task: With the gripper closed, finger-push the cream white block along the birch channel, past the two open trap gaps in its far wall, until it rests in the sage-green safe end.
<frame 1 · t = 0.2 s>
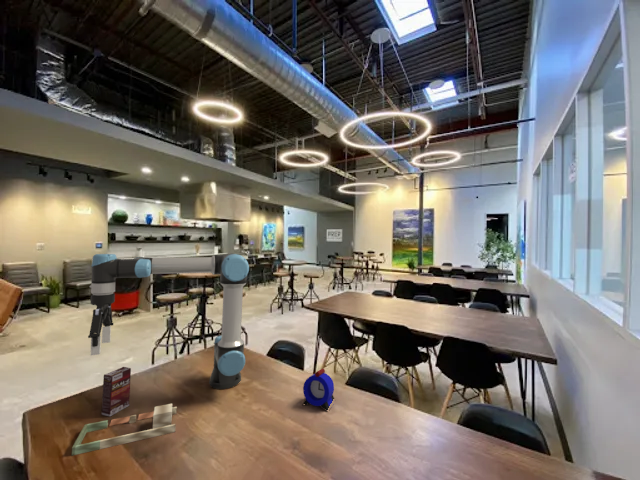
hand: (101, 348, 110), 28 cm above the table, fingers open, 13 cm apart
alarm clock: (319, 402, 126), on the table
cream white block: (162, 425, 108), on the table
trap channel: (131, 431, 104), on the table
supplement box: (116, 410, 117), on the table
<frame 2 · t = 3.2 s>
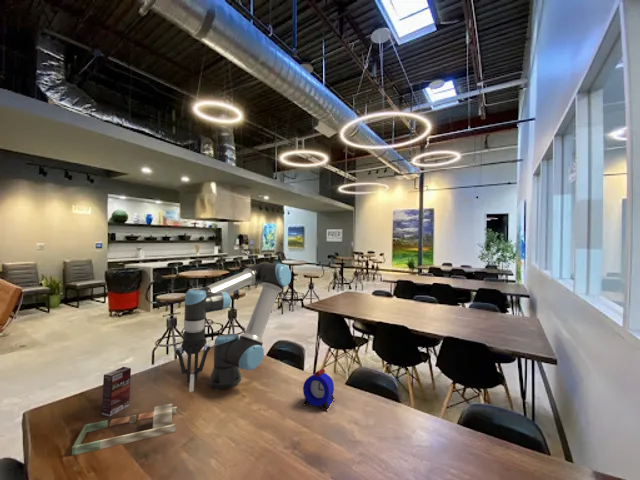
hand: (191, 389, 112), 11 cm above the table, fingers closed
nothing on the table moved.
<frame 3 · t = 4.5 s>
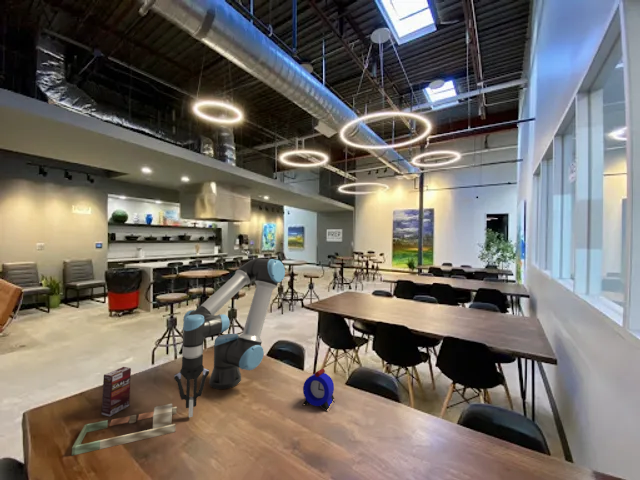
hand: (190, 415, 112), 1 cm above the table, fingers closed
nothing on the table moved.
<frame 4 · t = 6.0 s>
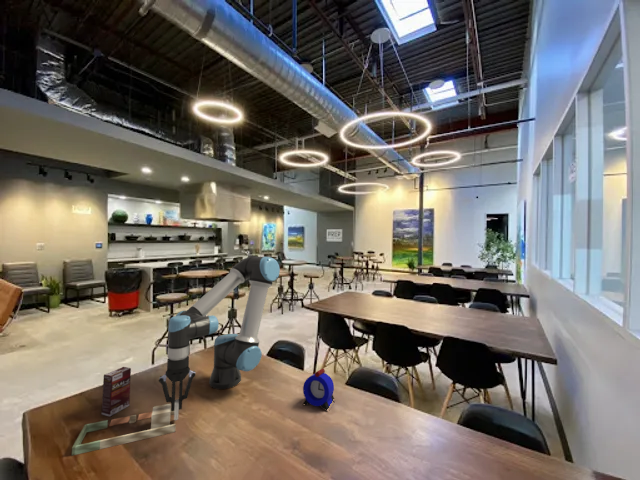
hand: (176, 418, 110), 2 cm above the table, fingers closed
cream white block: (160, 425, 108), on the table, touching gripper
everything else where it was.
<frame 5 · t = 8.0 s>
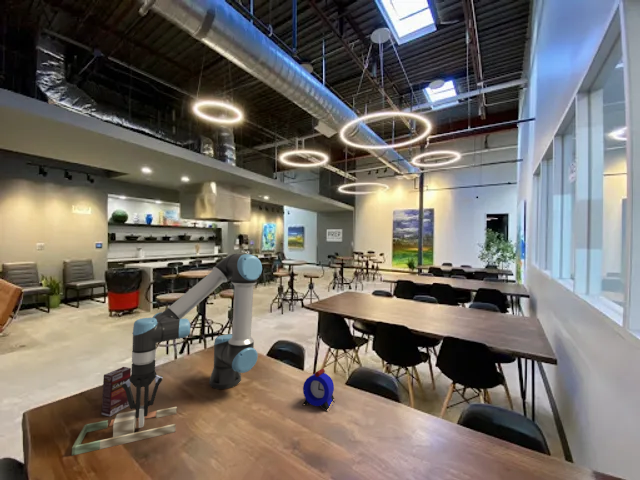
hand: (141, 425, 105), 2 cm above the table, fingers closed
cream white block: (124, 433, 103), on the table, touching gripper
everything else where it was.
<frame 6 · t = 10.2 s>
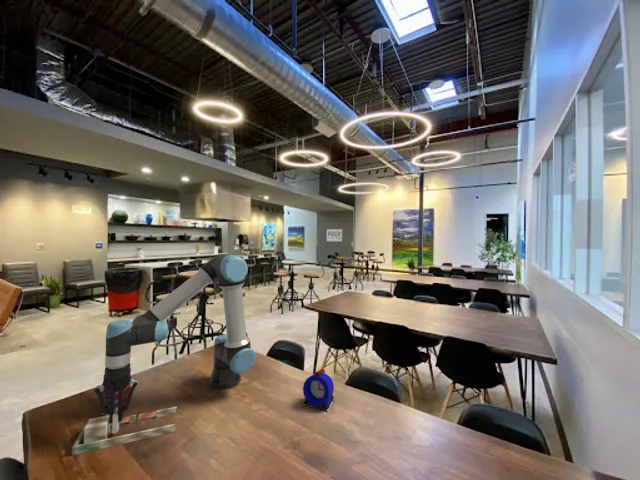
hand: (115, 430, 102), 1 cm above the table, fingers closed
cream white block: (97, 439, 100), on the table, touching gripper
everything else where it was.
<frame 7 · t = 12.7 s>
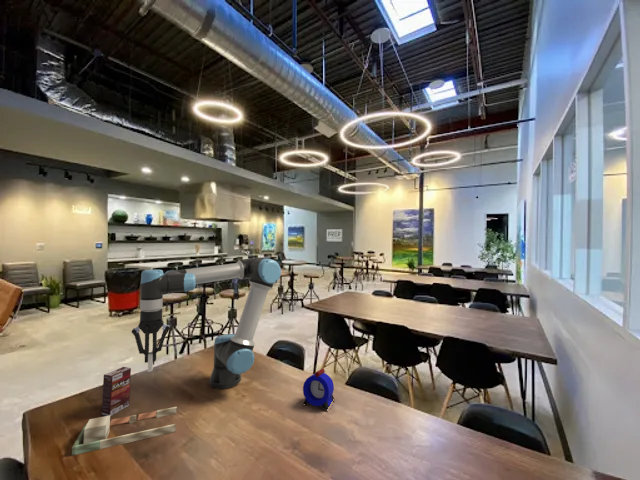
hand: (150, 369, 111), 20 cm above the table, fingers closed
cream white block: (96, 439, 100), on the table
everything else where it was.
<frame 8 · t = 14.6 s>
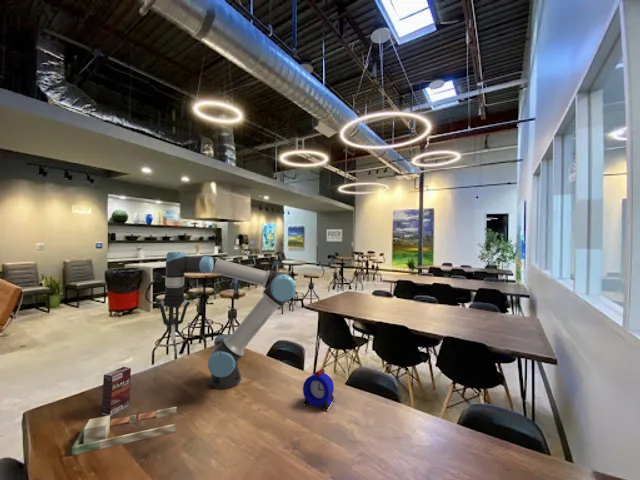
hand: (172, 339, 126), 26 cm above the table, fingers closed
nothing on the table moved.
at the end: cream white block inside the target area (0.5 cm from its centre), on the table; cream white block moved 20.2 cm from its start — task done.
